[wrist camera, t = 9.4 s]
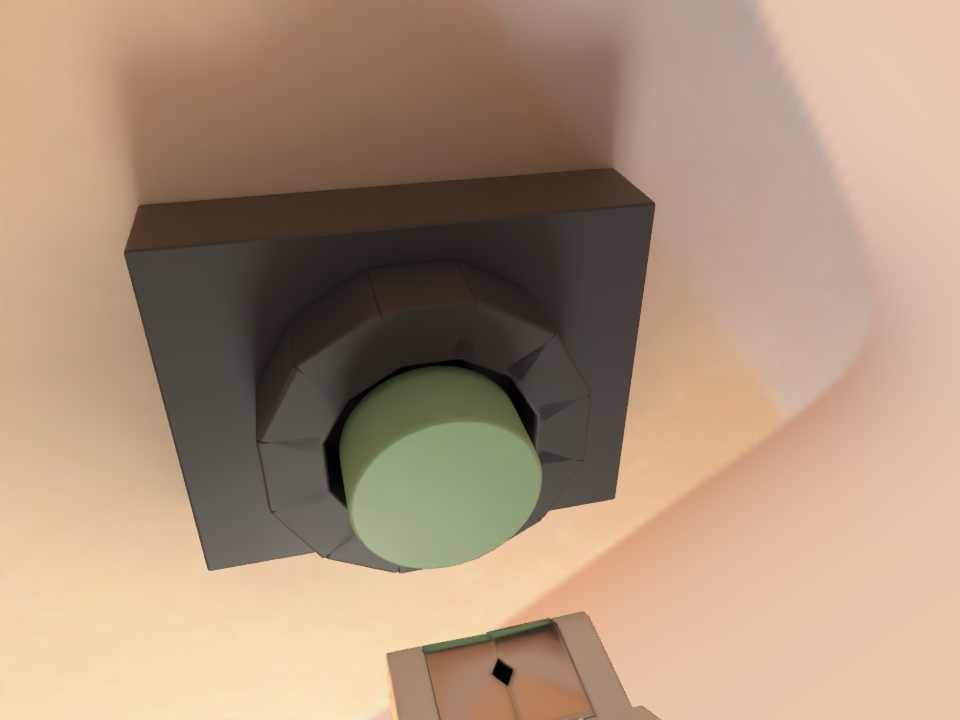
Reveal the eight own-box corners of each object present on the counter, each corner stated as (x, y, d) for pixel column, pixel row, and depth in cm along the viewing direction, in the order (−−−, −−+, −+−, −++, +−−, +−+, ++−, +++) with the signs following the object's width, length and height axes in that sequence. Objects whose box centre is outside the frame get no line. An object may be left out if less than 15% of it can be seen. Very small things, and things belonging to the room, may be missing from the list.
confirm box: (614, 167, 17) (700, 238, 14) (584, 446, 22) (645, 551, 18) (137, 205, 15) (107, 299, 12) (211, 506, 19) (204, 636, 16)
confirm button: (520, 352, 15) (548, 405, 13) (514, 492, 17) (538, 551, 15) (329, 377, 14) (339, 435, 13) (346, 521, 16) (357, 585, 15)
